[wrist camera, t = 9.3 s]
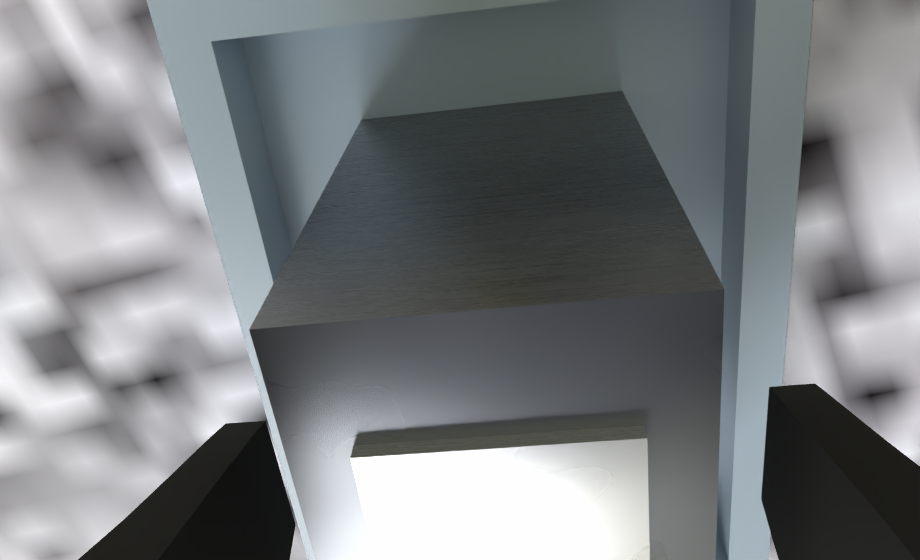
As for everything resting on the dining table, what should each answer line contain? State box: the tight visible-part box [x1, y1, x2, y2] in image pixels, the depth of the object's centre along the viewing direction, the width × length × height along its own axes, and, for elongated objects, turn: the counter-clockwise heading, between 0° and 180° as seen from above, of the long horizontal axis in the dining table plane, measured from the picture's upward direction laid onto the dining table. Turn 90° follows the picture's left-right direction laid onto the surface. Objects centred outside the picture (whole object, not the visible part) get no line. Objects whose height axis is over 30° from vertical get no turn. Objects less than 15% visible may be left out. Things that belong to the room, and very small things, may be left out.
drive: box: [249, 91, 725, 560], centre depth 12 cm, size 4×8×7 cm, turn 7°
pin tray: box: [147, 0, 814, 560], centre depth 14 cm, size 10×15×4 cm, turn 7°
